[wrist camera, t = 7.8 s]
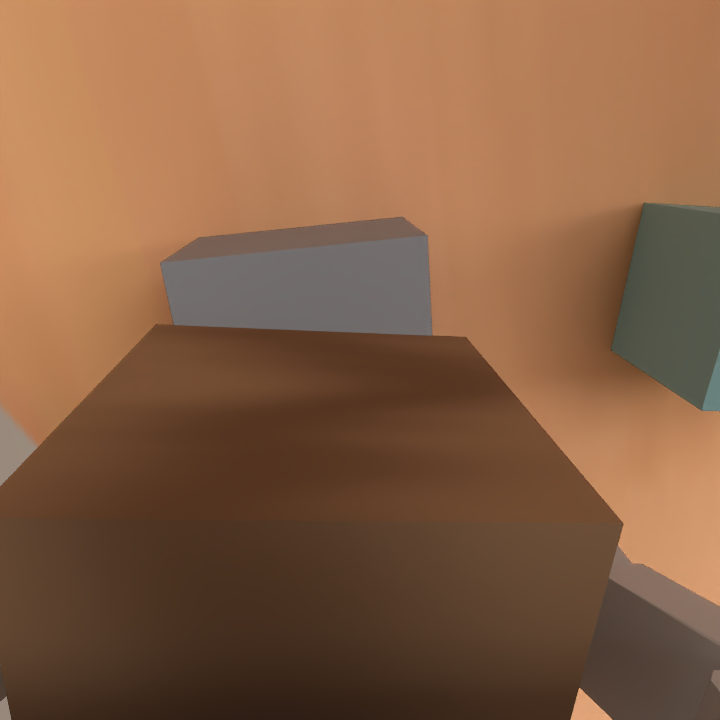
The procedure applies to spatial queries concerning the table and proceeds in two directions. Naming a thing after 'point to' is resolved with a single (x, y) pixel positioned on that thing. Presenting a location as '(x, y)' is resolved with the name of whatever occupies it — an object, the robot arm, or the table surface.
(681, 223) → the teal cube
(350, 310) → the grey base block
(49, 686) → the walnut cube
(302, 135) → the table surface
